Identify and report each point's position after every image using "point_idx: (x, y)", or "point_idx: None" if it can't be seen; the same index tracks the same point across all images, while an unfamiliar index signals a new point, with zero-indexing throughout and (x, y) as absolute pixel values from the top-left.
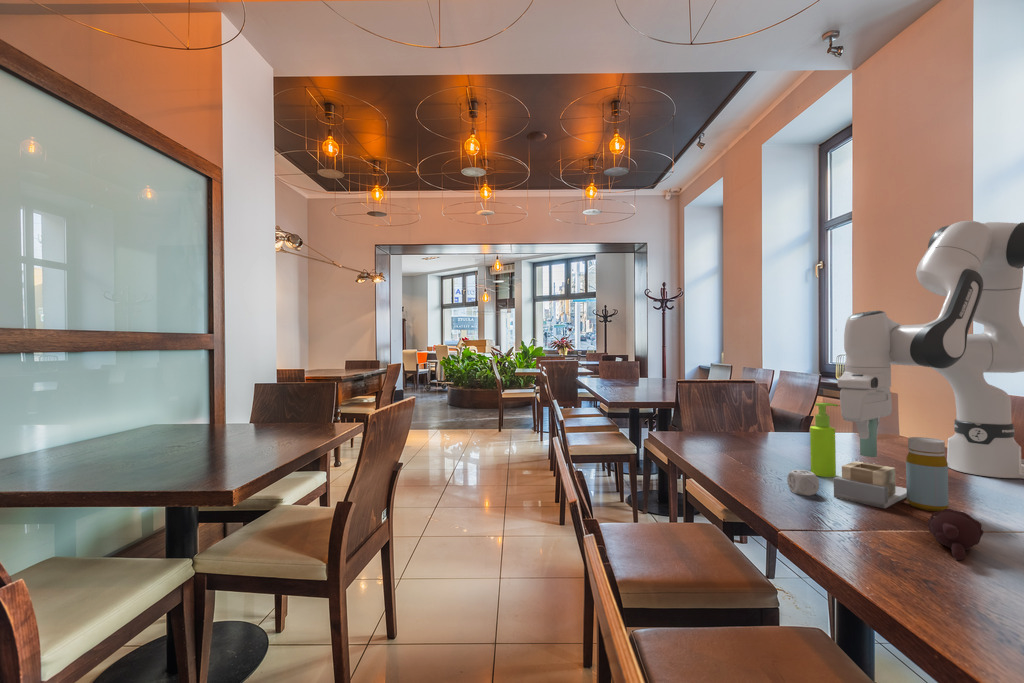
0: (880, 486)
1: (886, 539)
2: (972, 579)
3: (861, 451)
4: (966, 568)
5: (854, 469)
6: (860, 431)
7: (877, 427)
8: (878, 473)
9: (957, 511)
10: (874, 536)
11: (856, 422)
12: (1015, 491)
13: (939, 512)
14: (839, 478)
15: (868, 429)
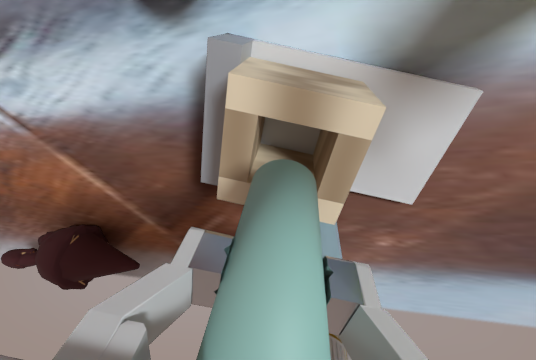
0: (213, 173)
1: (32, 168)
2: (9, 240)
3: (259, 176)
4: (35, 238)
5: (224, 121)
6: (173, 266)
7: (351, 353)
8: (219, 188)
9: (57, 283)
10: (25, 152)
11: (77, 327)
12: (531, 326)
13: (53, 262)
14: (219, 58)
15: (173, 318)
